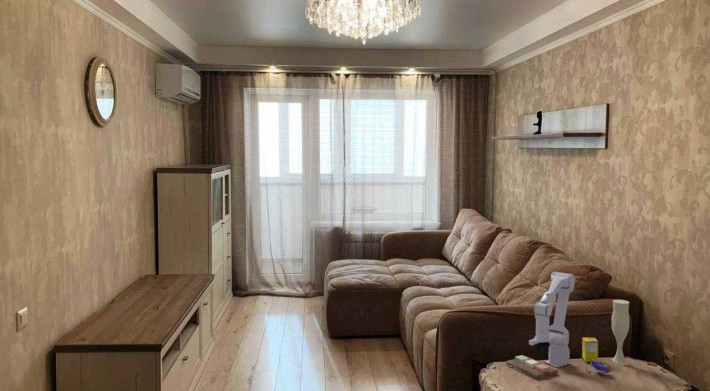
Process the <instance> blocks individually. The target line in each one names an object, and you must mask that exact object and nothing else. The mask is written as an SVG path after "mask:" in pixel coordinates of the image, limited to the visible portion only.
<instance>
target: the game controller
mask: <svg viewBox="0 0 710 391" xmlns="http://www.w3.org/2000/svg"><path fill="white" fill-rule="evenodd" d="M601 360H602V361H603V362H605V361H604V359H602V358H601ZM589 365H590V366H593V368H594V369H595V370H596V371H598V374H601V373H603V374H608V373H610V369H609V367H608V366H607V364H605V363H604V364H603V363H602V362H601V361H599V360H598V361H595V360H593V359H592V360H591V362H590V363H589ZM587 367H588V366H586V371H585V372H586V373H588V374H591V373H592V371H588V372H587ZM600 377H601V379H604V378H603V376H600Z"/></svg>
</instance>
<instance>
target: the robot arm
mask: <svg viewBox="0 0 710 391" xmlns="http://www.w3.org/2000/svg"><path fill="white" fill-rule="evenodd" d="M575 282H576V278H575V275H574V273H565V272H557V271H553V272H552V273H551V275H550V283H551V284H550V287H549V288H548V291H546V292H544V294H543V295H542V296H541V298H540V300H539V301H538V302H536V303H535V304H534V307H533V313H534V319H535V336H534V337H533V338H531V339H529V340H528V345H530V346H534V345H535V347H536V350H537V354H538V358H540V359H542V360H544V359H545V358H546V354H547V351H548V360H544V363H545V362H546V363H545V364H548V363H549V364H548V365H550V364H551V366H552V365H553V367H555V368H561V367H564V365H565V366H567V364H569V365H571V362H570V358H571V357H570V354H571V353H570V348H569V346H568V345H569V342H570V338H569V336H570V332H569V330H568V329H567V328H566V327H565V321H566V315H567V309H568V304H569V298H570V293H572V292H574V288H575ZM557 294H558V296H556V295H557ZM556 300H557V302H556ZM555 302H556V306H555V312H554V318H553V324H551V325H550V317H551V315H552V313H553V306H554V305H555ZM560 366H561V367H560Z"/></svg>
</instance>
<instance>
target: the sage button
mask: <svg viewBox="0 0 710 391" xmlns="http://www.w3.org/2000/svg"><path fill="white" fill-rule="evenodd" d="M527 357H528V356H527ZM527 357H526V356H525V355H523V354H522V355H517V356H514V359H515V361H517V362H519V363H521V364H523V363H525V361H527V360H529V358H530V357H529V358H527Z"/></svg>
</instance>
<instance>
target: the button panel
mask: <svg viewBox="0 0 710 391" xmlns="http://www.w3.org/2000/svg"><path fill="white" fill-rule="evenodd" d="M525 357H527V358H529V360H534V361H536V362H539V365H540V364H543V365H545V366H548V367H549V372H545V373H540V372H538V371H536V370H535V368H530V367H527V366H525V363H523V364H521V363H519V362H517V361H515V358H514V359H509V360H506V362H505V363H506V364H508V365H510V366H512V367H515V368H516V369H518V370H520V371H521V372H520V371H519V372H520V373H522V372H523V373H522V374H524V373H525V374H524V375H526V376H528V377H530V378H532V379H534V380H537V381H538V380H541V379H545V378H546V379H547V378H549V377H553V376H557V375H559V370H558V369H557V368H554V367H552V366H549V365H547V364H546V363H543V362H540V361H538V360H536V359H533V358H531V357H529V356H525ZM506 364H505V365H506ZM518 370H517V371H518Z"/></svg>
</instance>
